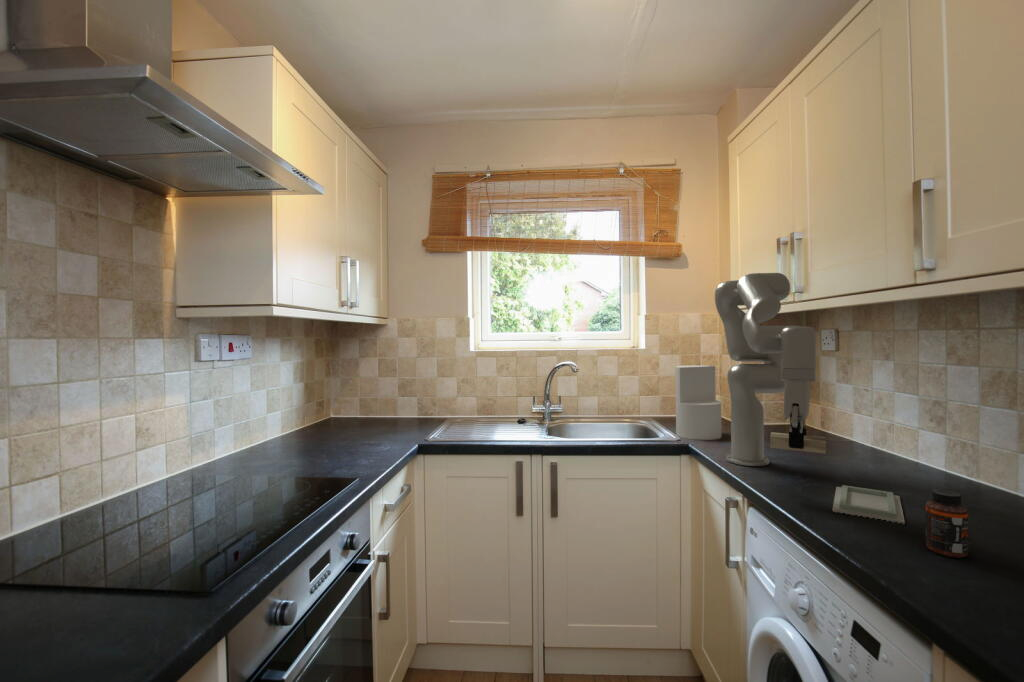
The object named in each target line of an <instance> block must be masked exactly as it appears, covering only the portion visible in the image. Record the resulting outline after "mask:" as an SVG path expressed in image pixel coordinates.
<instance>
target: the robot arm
mask: <svg viewBox="0 0 1024 682" xmlns="http://www.w3.org/2000/svg"><path fill="white" fill-rule="evenodd" d="M790 292H791V283H790V281H789V279H788V277H787V276H786V275H785V274H784V273H781V272H757V273H756V272H755V273H754V272H753V273H748V274H746V275H743V276H741V278H740V279H739V280H728V281H724V282H721V283H719V284H718V285H717V286H716V288H715V291H714V303H715V308H716V310H717V313H718V315H719V317H720V320H721V322H722V324H723V329H724V335H725V341H726V348H727V353H728V356H729V358H730V359H731V360H732V361H735V362H744V363H739V364H735V365H732V366H731V367H730V368H729V370H728V371H727V376H726V377H727V378H726V379H727V383H728V389H729V390H728V391H729V395H730V446H731V447H730V450H731V451H730V453H728V454H727V455H726V456H725V459H726V460H727V462H729V463H732V464H735V465H740V466H748V467H762V466H763V467H764V466H768V465H769V464H770V459H769V458H768V457H766V456H765V453H764V452H765V440H764V439H765V436H764V435H765V431H764V430H765V429H764V426H765V425H764V423H765V422H764V421H765V418H764V417H765V416H764V406H763V404H762V403H761V401H760V400H759V399H758V397H757V396H756V394H758V395H759V394H780V393H783V413H782V415H783V416H782V418H783V420H786V421H787V420H788V419H789V431H788V434H789V447H790V448H798V449H803V448H804V435H807V426H806V420H807V419H808V417H809V412H810V400H811V399H810V397H811V394H810V393H811V392H810V391H811V385H810V384H811V383H813V382H814V383H815V382H816V342H817V341H816V340H817V339H816V338H817V337H816V330H815V329H814V327H811V326H799V325H760V324H762V323H765V322H767V321H770V320H772V319H773V318H775V317H776V316H777V315H778V314H779V312H780V311H781V308H782V304H781V301H783V300H785V299H786V298H788V296H789V294H790ZM739 306H740V307H741V306H745V307H746V309H747V311H746V312H745V311H744V310H742V309H741V308H740V307H739ZM745 362H746V363H745ZM747 362H750V363H747ZM751 362H762V363H751Z"/></svg>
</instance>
